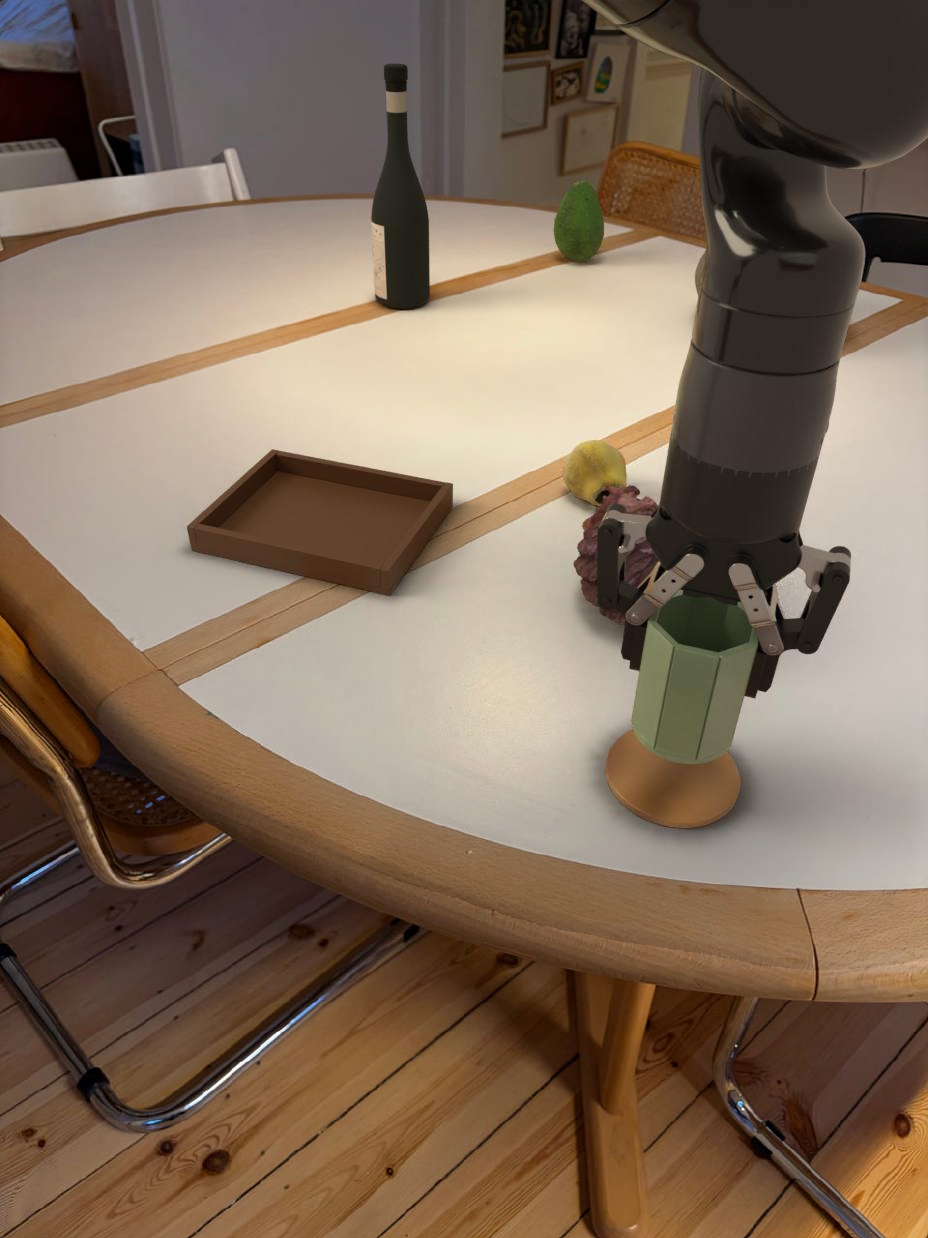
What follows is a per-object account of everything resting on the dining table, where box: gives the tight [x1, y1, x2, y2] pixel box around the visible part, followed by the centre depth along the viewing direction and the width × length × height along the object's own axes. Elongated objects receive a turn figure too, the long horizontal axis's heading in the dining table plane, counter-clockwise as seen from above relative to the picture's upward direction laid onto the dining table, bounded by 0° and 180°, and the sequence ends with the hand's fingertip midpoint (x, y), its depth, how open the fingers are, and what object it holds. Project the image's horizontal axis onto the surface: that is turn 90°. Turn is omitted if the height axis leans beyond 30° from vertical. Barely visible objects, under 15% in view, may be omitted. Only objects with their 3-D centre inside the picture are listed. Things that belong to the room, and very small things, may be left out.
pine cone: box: [572, 484, 681, 626], centre depth 75 cm, size 18×10×10 cm
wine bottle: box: [370, 63, 431, 310], centre depth 127 cm, size 8×8×30 cm
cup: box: [630, 590, 759, 764], centre depth 58 cm, size 6×6×9 cm
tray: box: [186, 448, 454, 596], centre depth 87 cm, size 20×16×3 cm
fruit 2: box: [562, 439, 628, 506], centre depth 91 cm, size 6×6×10 cm
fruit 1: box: [553, 180, 605, 263], centre depth 148 cm, size 8×8×12 cm
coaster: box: [605, 728, 741, 829], centre depth 64 cm, size 9×9×1 cm
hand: (693, 675), depth 58 cm, fingers closed on cup, 6 cm apart
